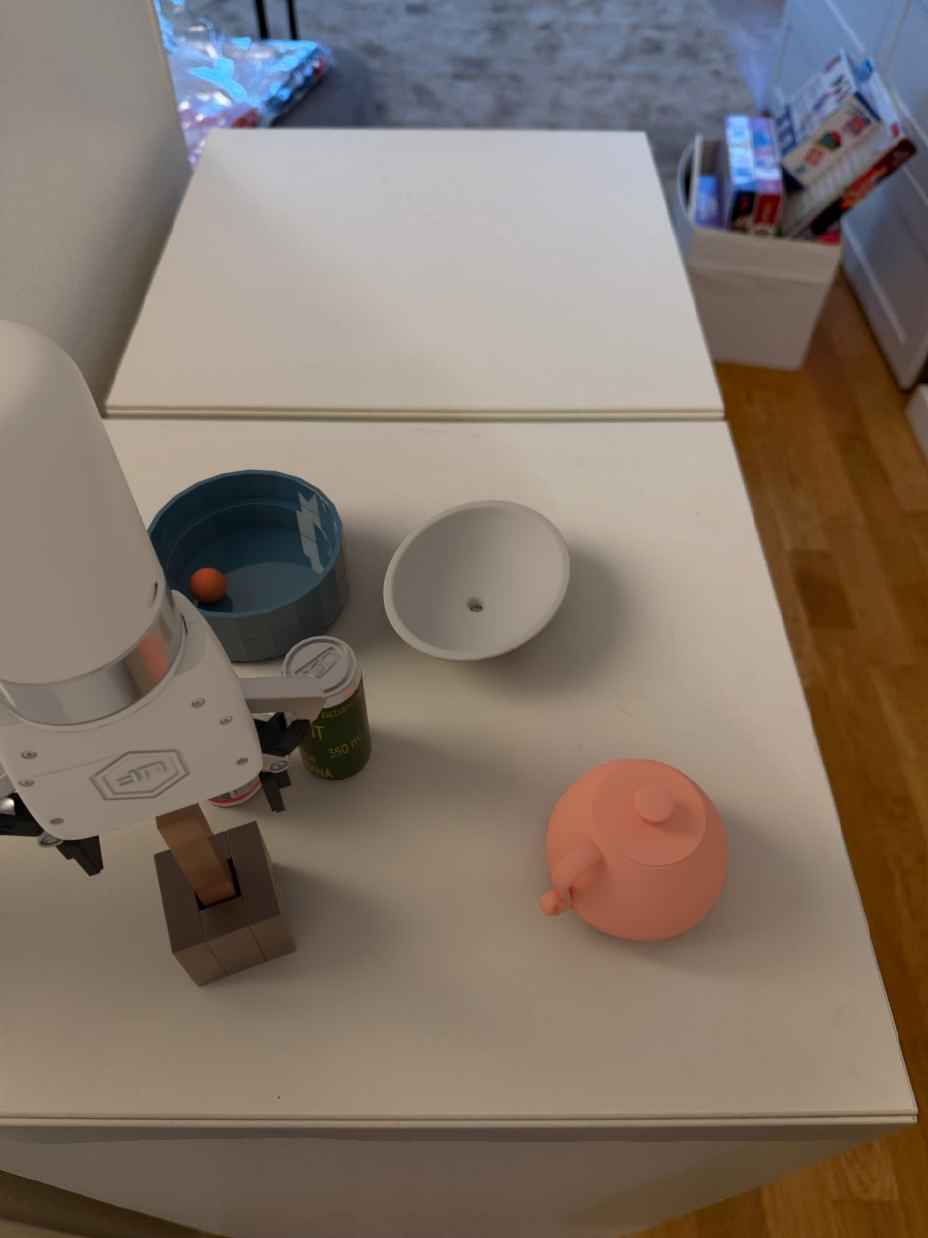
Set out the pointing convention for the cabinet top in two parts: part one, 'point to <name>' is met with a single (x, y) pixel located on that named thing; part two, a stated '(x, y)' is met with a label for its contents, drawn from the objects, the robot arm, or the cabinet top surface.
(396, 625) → the dish
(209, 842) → the brown wooden stick
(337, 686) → the green drink can
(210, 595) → the ball
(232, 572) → the bowl
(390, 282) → the cabinet top surface
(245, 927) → the stick stand
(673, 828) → the pink teapot
